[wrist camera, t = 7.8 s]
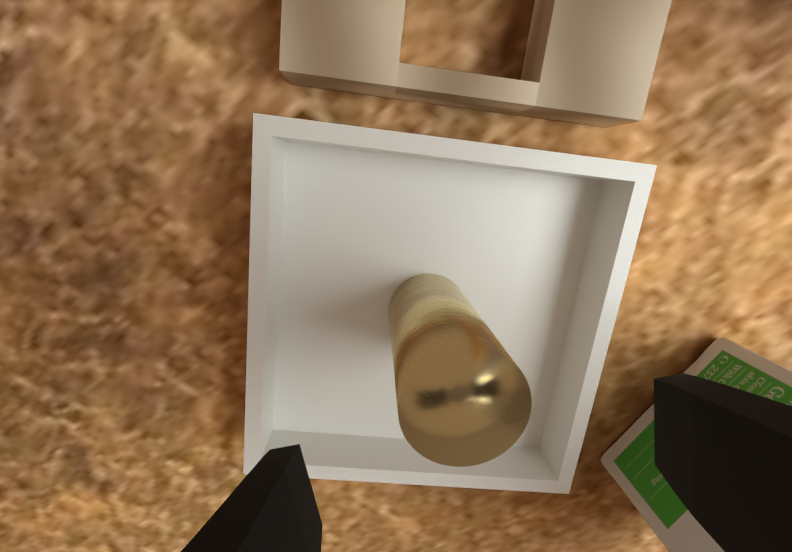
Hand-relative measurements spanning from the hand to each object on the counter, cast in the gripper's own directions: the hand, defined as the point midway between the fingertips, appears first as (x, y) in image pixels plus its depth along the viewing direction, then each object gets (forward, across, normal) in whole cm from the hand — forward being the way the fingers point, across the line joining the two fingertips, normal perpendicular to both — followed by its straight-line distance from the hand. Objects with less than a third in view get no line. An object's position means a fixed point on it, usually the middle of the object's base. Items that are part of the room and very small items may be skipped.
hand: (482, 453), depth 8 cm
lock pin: (+8, 0, 0) cm, 9 cm away
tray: (+9, 0, 0) cm, 9 cm away
